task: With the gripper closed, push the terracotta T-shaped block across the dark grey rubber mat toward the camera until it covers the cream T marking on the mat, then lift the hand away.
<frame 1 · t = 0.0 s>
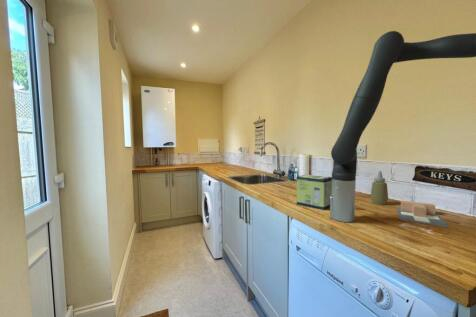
squeeze bottle: (378, 204, 113), on the worktop
T-block: (418, 213, 96), point 1 cm above the worktop, touching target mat
protein box: (313, 205, 112), on the worktop
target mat: (419, 216, 93), on the worktop
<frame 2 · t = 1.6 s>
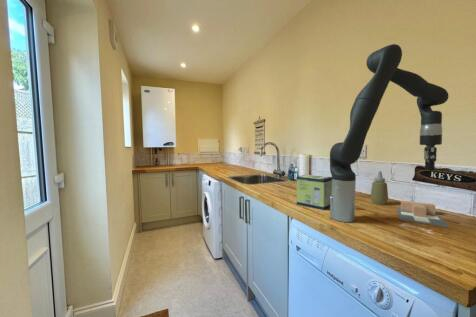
hand: (429, 169, 96), 21 cm above the worktop, tool pointing down, fingers open, 8 cm apart
nothing on the worktop moved.
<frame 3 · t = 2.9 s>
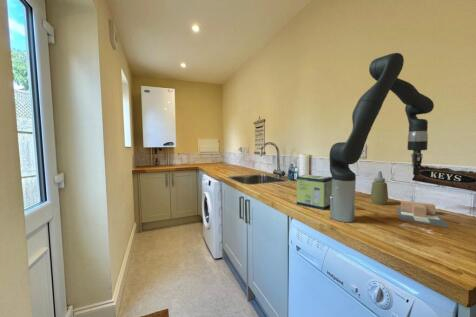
hand: (416, 175, 105), 17 cm above the worktop, tool pointing down, fingers closed
nothing on the worktop moved.
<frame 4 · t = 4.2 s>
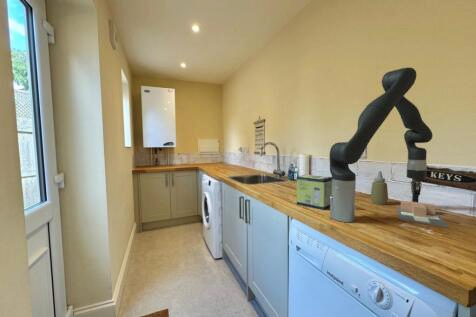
hand: (415, 202, 105), 3 cm above the worktop, tool pointing down, fingers closed
nothing on the worktop moved.
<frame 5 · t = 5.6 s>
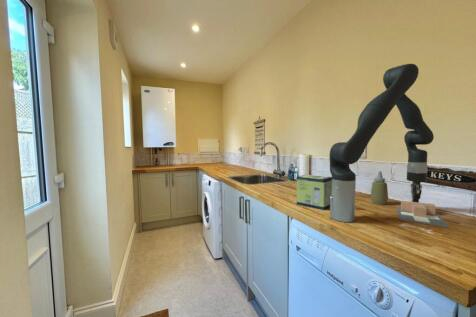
hand: (415, 206, 102), 2 cm above the worktop, tool pointing down, fingers closed
T-block: (418, 213, 96), point 1 cm above the worktop, touching gripper
everything else where it was.
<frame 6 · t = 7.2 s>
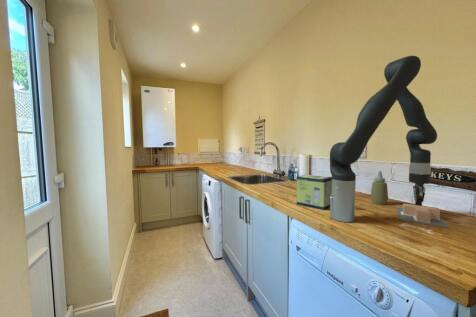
hand: (418, 209, 96), 2 cm above the worktop, tool pointing down, fingers closed
T-block: (421, 217, 90), point 1 cm above the worktop, touching gripper, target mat
everything else where it was.
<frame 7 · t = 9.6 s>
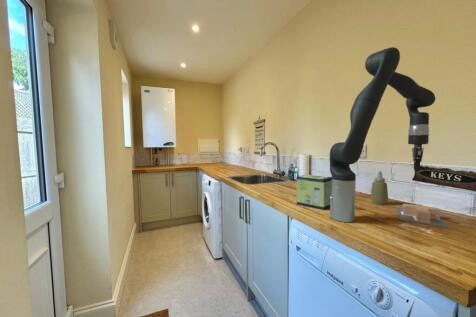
hand: (416, 169, 102), 20 cm above the worktop, tool pointing down, fingers closed
T-block: (421, 217, 90), point 1 cm above the worktop, touching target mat
everything else where it was.
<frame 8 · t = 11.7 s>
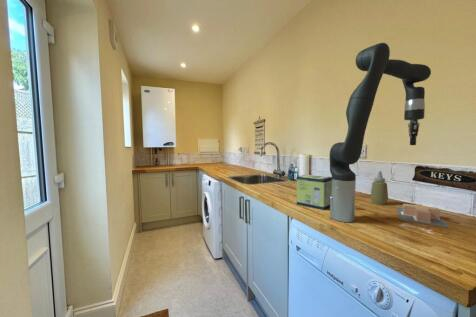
hand: (412, 145, 102), 32 cm above the worktop, tool pointing down, fingers closed
nothing on the worktop moved.
at the end: T-block 0.4 cm from the target spot, point 0.5 cm above the worktop; T-block tilted 0°; squeeze bottle moved 0.2 cm from its start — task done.
